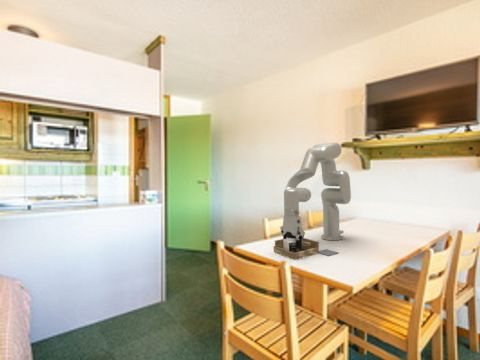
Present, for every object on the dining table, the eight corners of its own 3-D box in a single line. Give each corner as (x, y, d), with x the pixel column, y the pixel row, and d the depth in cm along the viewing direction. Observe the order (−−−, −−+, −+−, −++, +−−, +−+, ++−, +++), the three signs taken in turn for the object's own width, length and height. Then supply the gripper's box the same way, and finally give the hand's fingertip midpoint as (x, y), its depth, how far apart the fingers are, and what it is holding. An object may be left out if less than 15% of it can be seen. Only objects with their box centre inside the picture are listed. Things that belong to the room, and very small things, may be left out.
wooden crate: (296, 246, 152) (296, 236, 152) (318, 253, 138) (318, 241, 138) (273, 251, 143) (273, 240, 142) (294, 259, 129) (294, 247, 129)
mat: (326, 249, 144) (326, 248, 144) (338, 253, 138) (338, 252, 137) (315, 252, 140) (315, 251, 140) (328, 256, 133) (328, 255, 133)
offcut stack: (300, 248, 148) (300, 239, 148) (312, 251, 141) (312, 242, 141) (295, 249, 146) (295, 240, 146) (307, 253, 139) (307, 244, 139)
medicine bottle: (289, 256, 135) (288, 232, 134) (283, 252, 142) (282, 230, 141) (301, 254, 137) (301, 231, 136) (295, 250, 144) (295, 228, 143)
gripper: (309, 214, 133) (309, 247, 134) (285, 210, 148) (286, 240, 148) (298, 215, 129) (299, 250, 130) (275, 211, 144) (275, 243, 144)
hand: (292, 245), depth 139 cm, fingers open, 9 cm apart
